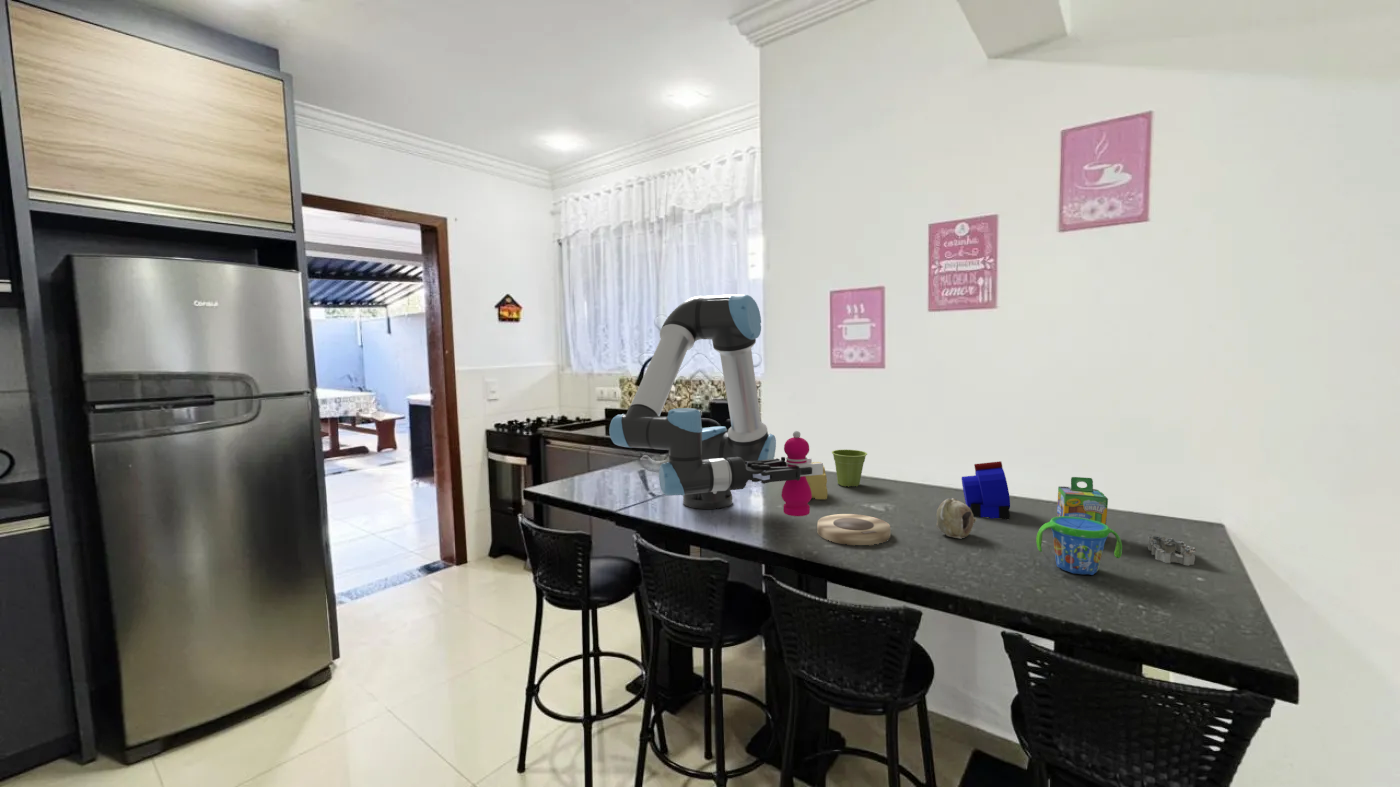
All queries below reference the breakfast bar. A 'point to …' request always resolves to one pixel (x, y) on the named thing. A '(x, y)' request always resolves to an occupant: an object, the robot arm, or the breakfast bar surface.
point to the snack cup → (1078, 543)
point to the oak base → (853, 529)
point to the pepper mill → (794, 490)
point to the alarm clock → (987, 491)
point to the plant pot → (849, 466)
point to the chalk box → (1082, 501)
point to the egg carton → (1171, 550)
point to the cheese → (818, 485)
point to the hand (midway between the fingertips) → (816, 466)
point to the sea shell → (954, 518)
